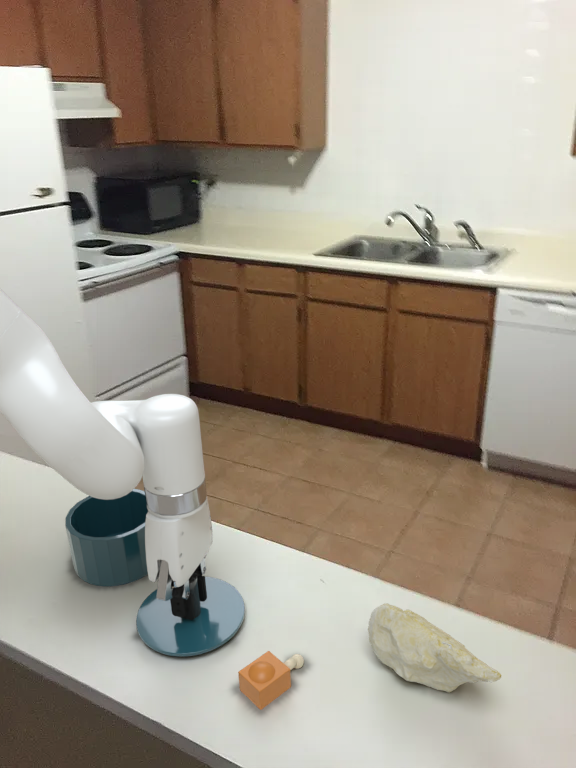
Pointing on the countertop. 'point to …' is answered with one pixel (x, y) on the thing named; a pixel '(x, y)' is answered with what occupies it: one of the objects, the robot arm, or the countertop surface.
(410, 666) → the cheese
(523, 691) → the countertop surface
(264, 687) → the orange knobbed cube
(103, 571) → the pot
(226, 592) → the lid
